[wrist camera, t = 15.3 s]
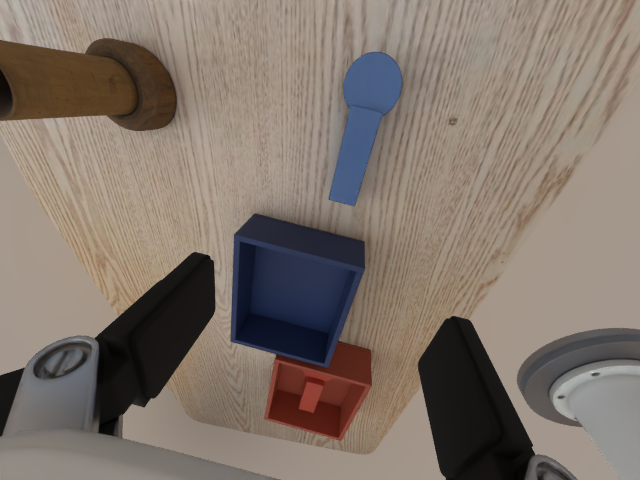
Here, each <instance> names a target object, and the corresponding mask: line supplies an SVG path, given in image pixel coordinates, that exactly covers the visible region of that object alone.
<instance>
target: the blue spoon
mask: <svg viewBox="0 0 640 480" xmlns="http://www.w3.org/2000/svg"><path fill="white" fill-rule="evenodd" d="M401 89H402V75H401V71H400V68H399V66H398V65H397V63H396V62H395V60H394V59H393V58H391V57H390V56H389V55H387V54H384V53H381V52H371V53H367V54H365V55H363V56H361V57H360V58H358V59H357V60H356V61H355V62H354V63H353V64H352V65H351V67H350V68H349V70H348V72H347V74H346V77H345V81H344V98H345V101H346V104H347V106H348V107H349V109H350V111H349V115H348V119H347V123H346V128H345V132H344V136H343V140H342V145H341V149H340V153H339V157H338V161H337V166H336V170H335V174H334V178H333V183H332V187H331V191H330V195H329V200H332V201H336V202H340V203H344V204H348V205H352V206H355V204H356V201H357V197H358V194H359V191H360V187H361V184H362V181H363V177H364V174H365V171H366V167H367V164H368V160H369V157H370V154H371V150H372V147H373V144H374V140H375V137H376V134H377V130H378V127H379V124H380V120H381V117H382V116H383V115H385V114H387V113H388V112H389V111H390V110H391V109H392V108H393V107H394V106H395V104H396V103H397V101H398V99H399V96H400V93H401Z"/></svg>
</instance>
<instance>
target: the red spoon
mask: <svg viewBox="0 0 640 480" xmlns="http://www.w3.org/2000/svg"><path fill="white" fill-rule="evenodd" d="M304 374H305V375H306V376H307V377H306V380H305V384H304V387H303V390H302V395H301V399H300V404H299V409H301V410H305V411H308V412H312V413H314V410H315V408H316V405H317V402H318V400H319V397H320V394H321V392H322V389H323V387H324V382H326V381H329V380H331V379H332V378H331V377H328V376H324V375H320V374H317V373H313V372H309V371H306V370H304Z"/></svg>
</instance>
